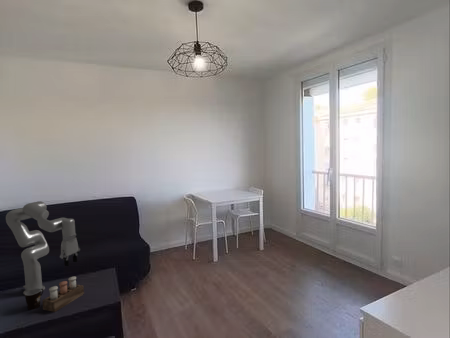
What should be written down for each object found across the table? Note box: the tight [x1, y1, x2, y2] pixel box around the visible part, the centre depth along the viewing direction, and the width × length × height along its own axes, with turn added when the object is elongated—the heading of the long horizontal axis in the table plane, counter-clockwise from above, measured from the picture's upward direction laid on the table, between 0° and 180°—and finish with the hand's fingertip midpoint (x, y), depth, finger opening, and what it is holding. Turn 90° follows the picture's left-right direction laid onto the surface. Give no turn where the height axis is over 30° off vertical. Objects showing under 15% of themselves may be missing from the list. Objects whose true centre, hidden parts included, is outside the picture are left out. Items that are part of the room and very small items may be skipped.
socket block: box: [41, 284, 85, 313], centre depth 181 cm, size 10×22×6 cm, turn 161°
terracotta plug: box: [58, 280, 68, 295], centre depth 181 cm, size 5×5×8 cm
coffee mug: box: [24, 288, 44, 311], centre depth 177 cm, size 12×9×10 cm
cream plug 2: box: [67, 276, 77, 290], centre depth 187 cm, size 5×5×8 cm
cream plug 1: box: [48, 285, 59, 301], centre depth 174 cm, size 5×5×8 cm
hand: (71, 263), depth 187 cm, fingers open, 5 cm apart
